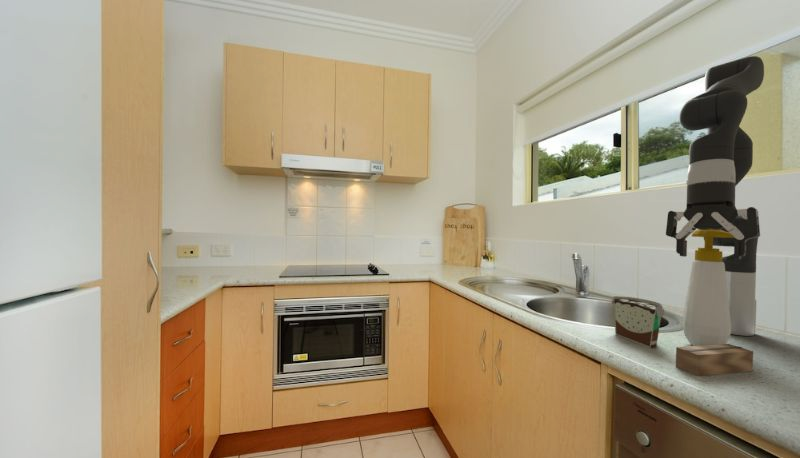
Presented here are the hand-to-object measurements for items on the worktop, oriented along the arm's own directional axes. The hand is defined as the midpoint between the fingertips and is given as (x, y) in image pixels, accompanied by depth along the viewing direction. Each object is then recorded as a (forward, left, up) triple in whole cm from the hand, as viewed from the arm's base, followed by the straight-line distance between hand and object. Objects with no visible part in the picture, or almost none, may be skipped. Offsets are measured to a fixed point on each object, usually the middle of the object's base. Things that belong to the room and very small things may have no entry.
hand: (708, 257), depth 67 cm
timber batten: (+3, +4, -22) cm, 23 cm away
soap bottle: (-10, -5, -23) cm, 25 cm away
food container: (+2, -12, -23) cm, 26 cm away
